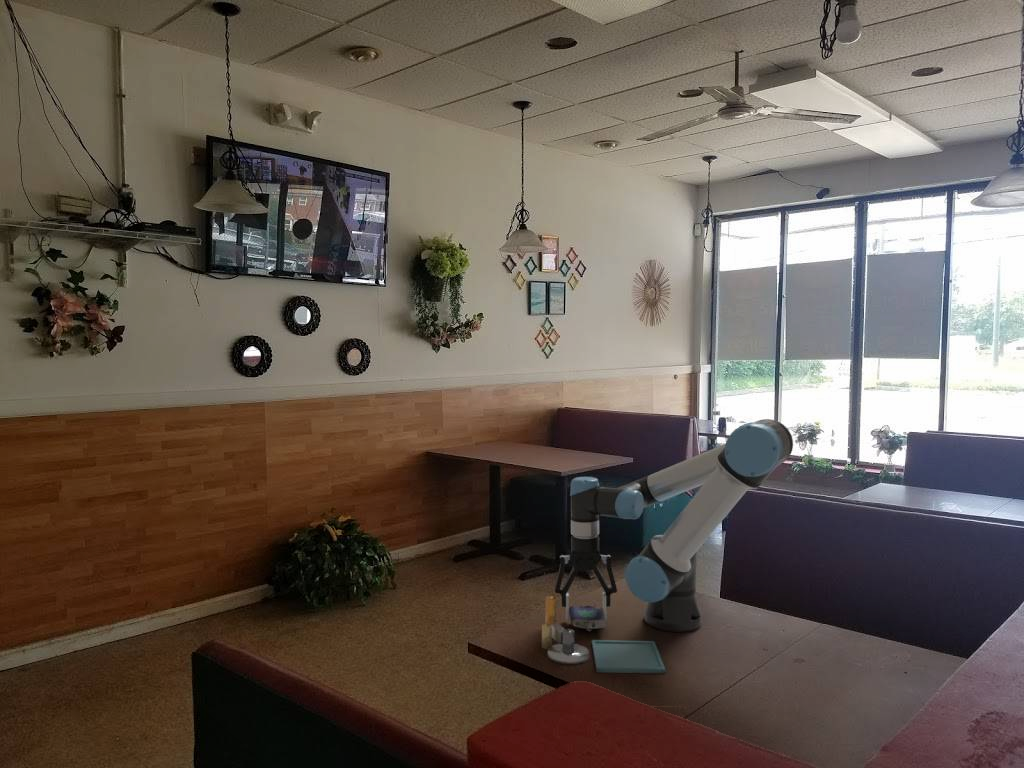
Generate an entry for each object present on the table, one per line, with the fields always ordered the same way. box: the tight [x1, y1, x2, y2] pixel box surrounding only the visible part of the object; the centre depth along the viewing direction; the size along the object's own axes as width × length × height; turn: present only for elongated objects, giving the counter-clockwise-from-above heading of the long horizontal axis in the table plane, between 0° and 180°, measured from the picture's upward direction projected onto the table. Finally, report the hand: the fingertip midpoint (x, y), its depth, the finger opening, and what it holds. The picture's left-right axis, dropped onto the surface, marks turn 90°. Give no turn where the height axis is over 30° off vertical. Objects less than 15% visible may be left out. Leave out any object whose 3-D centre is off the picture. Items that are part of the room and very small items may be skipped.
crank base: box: [541, 623, 590, 665], centre depth 179 cm, size 11×11×6 cm
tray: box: [591, 639, 666, 674], centre depth 178 cm, size 16×16×1 cm
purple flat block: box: [569, 604, 607, 632], centre depth 194 cm, size 9×3×11 cm
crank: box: [544, 595, 565, 645], centre depth 185 cm, size 9×3×9 cm, turn 23°
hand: (586, 618), depth 198 cm, fingers closed on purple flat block, 9 cm apart
